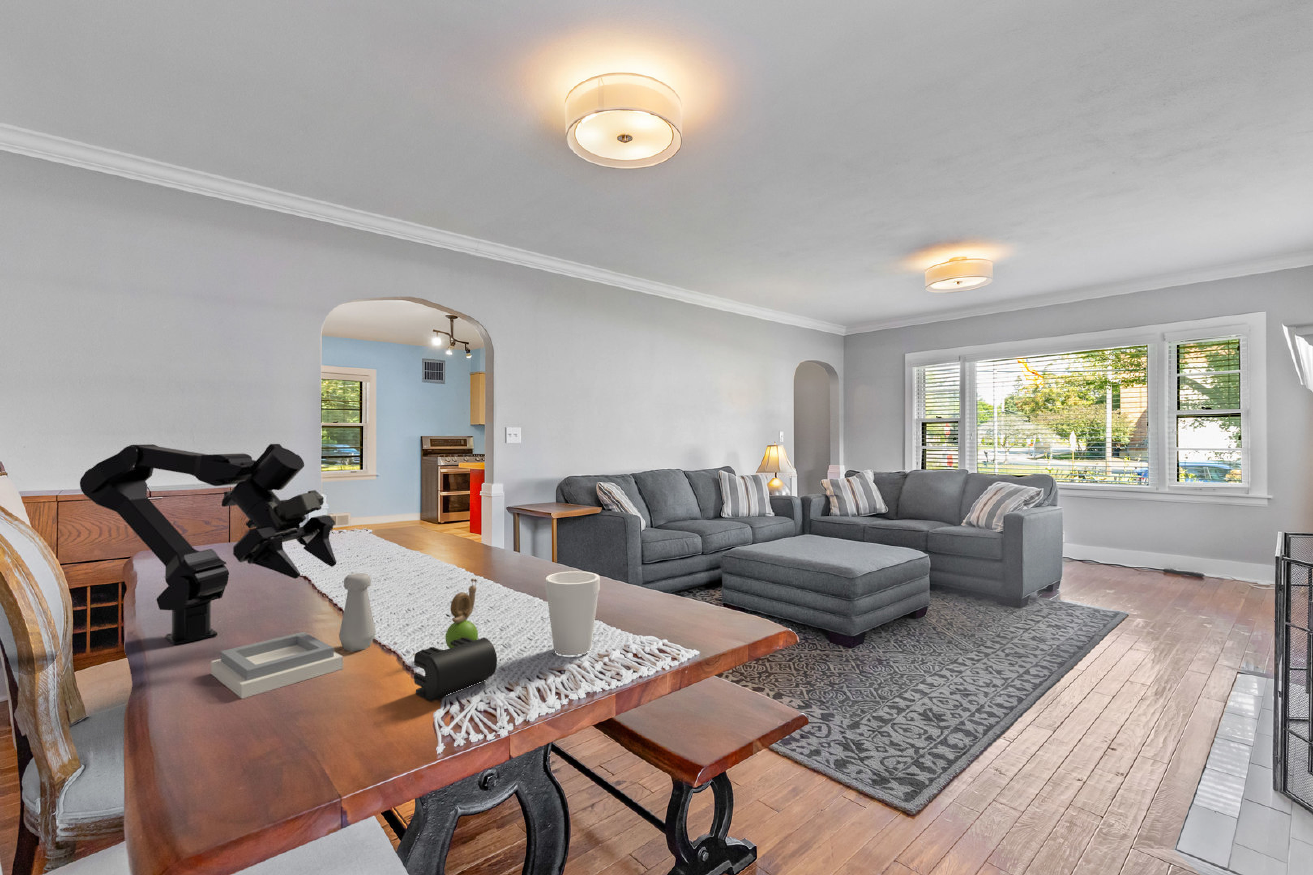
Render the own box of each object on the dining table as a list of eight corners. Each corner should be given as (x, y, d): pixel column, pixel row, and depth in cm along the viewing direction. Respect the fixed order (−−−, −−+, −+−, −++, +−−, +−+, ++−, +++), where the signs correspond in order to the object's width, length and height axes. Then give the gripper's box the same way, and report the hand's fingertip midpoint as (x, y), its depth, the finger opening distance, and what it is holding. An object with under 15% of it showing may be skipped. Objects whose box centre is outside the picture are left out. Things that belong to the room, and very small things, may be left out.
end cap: (438, 709, 82) (438, 660, 82) (411, 695, 86) (411, 649, 86) (497, 685, 90) (498, 641, 90) (470, 673, 94) (470, 631, 94)
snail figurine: (487, 646, 106) (487, 579, 106) (464, 658, 100) (465, 588, 100) (462, 642, 108) (462, 577, 108) (438, 654, 102) (438, 585, 102)
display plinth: (211, 673, 94) (211, 651, 94) (306, 648, 104) (307, 629, 104) (241, 698, 85) (241, 674, 85) (342, 668, 96) (342, 647, 96)
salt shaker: (381, 642, 108) (382, 571, 108) (363, 653, 102) (363, 578, 102) (351, 640, 109) (351, 570, 109) (331, 652, 103) (331, 577, 103)
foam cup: (534, 651, 104) (534, 577, 104) (575, 637, 111) (575, 568, 111) (569, 665, 98) (569, 587, 98) (610, 650, 105) (610, 577, 104)
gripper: (249, 481, 98) (308, 550, 97) (327, 473, 116) (378, 532, 115) (206, 526, 99) (264, 596, 98) (290, 512, 118) (340, 570, 116)
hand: (317, 570), depth 107 cm, fingers open, 9 cm apart
